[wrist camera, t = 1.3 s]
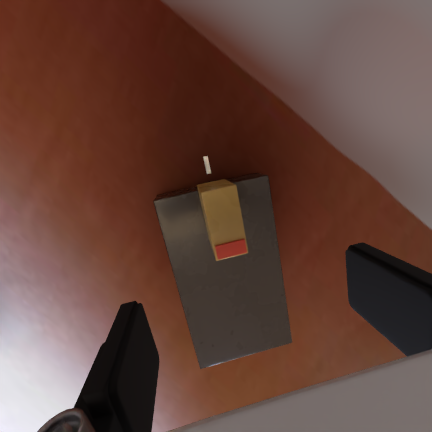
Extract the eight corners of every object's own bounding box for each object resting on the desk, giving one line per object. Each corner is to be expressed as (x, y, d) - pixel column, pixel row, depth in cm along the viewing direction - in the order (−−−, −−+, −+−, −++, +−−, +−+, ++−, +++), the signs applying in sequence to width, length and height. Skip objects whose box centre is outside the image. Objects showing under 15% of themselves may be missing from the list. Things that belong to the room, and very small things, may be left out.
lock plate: (149, 167, 22) (143, 169, 19) (253, 145, 22) (264, 143, 19) (198, 346, 27) (200, 370, 24) (280, 323, 28) (292, 343, 25)
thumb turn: (196, 184, 20) (200, 193, 15) (224, 178, 20) (237, 184, 15) (209, 240, 21) (216, 263, 16) (235, 233, 21) (249, 254, 16)
